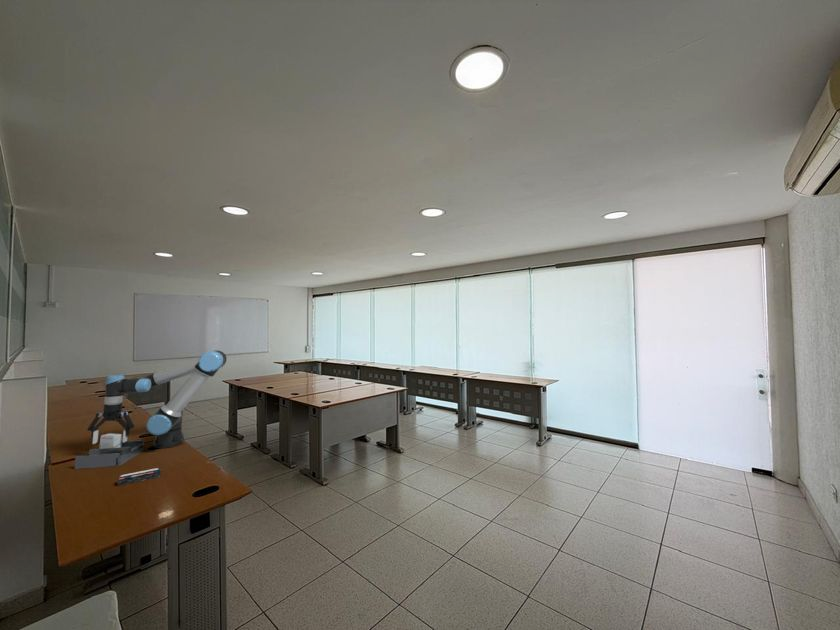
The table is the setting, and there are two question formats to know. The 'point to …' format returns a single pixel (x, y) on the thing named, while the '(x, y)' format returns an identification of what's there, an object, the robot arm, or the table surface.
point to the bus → (139, 476)
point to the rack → (110, 455)
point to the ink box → (110, 441)
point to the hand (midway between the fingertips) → (110, 442)
